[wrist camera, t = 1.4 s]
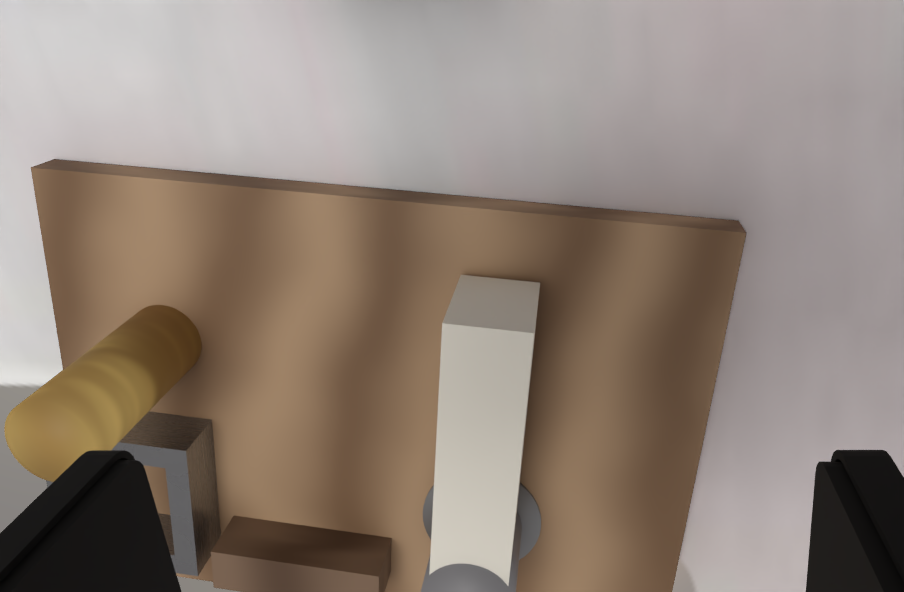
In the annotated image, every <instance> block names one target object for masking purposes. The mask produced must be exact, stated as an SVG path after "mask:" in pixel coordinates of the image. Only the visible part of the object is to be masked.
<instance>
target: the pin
mask: <svg viewBox="0 0 904 592" xmlns="http://www.w3.org/2000/svg"><path fill="white" fill-rule="evenodd" d="M201 349H202V343H201V338H200V335H199V332H198V330H197V328H196V326H195V325H194V324H193V322H192V321H191V320H190V319H189V318H188V317H187V316H186V315H185V314H183V313H182V312H180V311H179V310H177V309H175V308H172V307H169V306H165V305H152V306H148V307H145V308H143V309H142V310H140V311H139V312H138V313H136V314H135V315H134V316H132V317H131V318H130V319H129V320H127V321H126V322H125V323H123V324H122V325H121V326H119V327H118V328H117V329H116V330H114V331H113V332H112V333H110V334H109V335H108V336H107V337H105V338H104V339H103V340H101V341H100V342H99V343H97V344H96V345H95V346H94V347H92V348H91V349H90V350H88V351H87V352H86V353H85V354H83V355H82V356H81V357H79V358H78V359H77V360H76V361H74V362H73V363H72V364H70V365H69V366H68V367H66V368H65V369H64V370H63V371H61V372H60V373H59V374H57V375H56V376H55V377H54V378H52V379H51V380H50V381H48V382H47V383H46V384H44V385H43V386H42V387H41V388H39V389H38V390H37V391H36V392H34V393H33V394H32V395H30V396H29V397H28V398H26V399H25V400H24V401H22V402H21V403H20V404H19V405H17V406H16V407H15V408H14V409H13V410H12V411H11V412H10V413H9V415H8V416H7V419H6V422H5V437H6V441H7V444H8V447H9V448H10V450H11V452H12V454H13V455H14V457H15V458H16V459H17V460H18V462H19V463H20V464H21V465H22V466H23V467H24V468H26V469H27V470H28V471H30V472H31V473H33V474H34V475H36V476H38V477H40V478H42V479H45V480H47V481H51V482H54V481H55V480H56V479H57V478H58V477H59V476H60V475H61V474H62V473H63V472H64V471H65V470H66V469H67V468H69V467H70V466H71V465H72V464H73V463H74V462H75V461H76V460H77V459H78V458H79V457H80V456H81V455H82V454H84V453H85V452H87V451H92V450H112V449H113V448H114V447H115V446H116V445H117V443H118V442H119V441H120V440H121V439H122V438H123V437H124V436H125V435H126V434H127V433H128V432H129V431H130V430H131V429H132V428H133V427H134V426H135V425H136V424H137V423H138V422H139V421H140V420H141V419H142V418H143V417H144V416H145V415H146V414H147V413H148V412H149V411H150V410H151V409H152V408H153V407H154V406H155V405H156V404H157V403H158V401H159V400H160V399H161V398H162V397H163V396H164V395H165V394H166V393H167V392H168V391H169V390H170V389H171V388H172V387H173V386H174V385H175V384H176V383H177V382H178V381H179V380H180V379H181V378H182V377H183V376H184V375H185V374H186V373H187V372H188V371H189V370H190V369H191V368H192V367H193V366H194V365H195V364H196V362H197V361H198V359H199V357H200V354H201Z"/></svg>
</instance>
